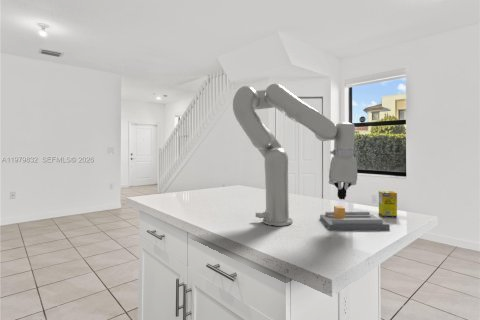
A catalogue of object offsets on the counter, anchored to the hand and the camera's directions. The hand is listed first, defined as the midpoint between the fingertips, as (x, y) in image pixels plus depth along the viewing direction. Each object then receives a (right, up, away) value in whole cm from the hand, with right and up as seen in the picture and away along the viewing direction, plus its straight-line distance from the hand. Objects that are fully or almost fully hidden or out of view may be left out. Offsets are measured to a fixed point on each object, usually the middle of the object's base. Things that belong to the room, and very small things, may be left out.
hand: (341, 198), depth 111 cm
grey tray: (+4, -8, 0) cm, 9 cm away
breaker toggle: (-1, -8, 0) cm, 8 cm away
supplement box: (+25, -10, +12) cm, 29 cm away
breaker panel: (+4, -10, 0) cm, 11 cm away
